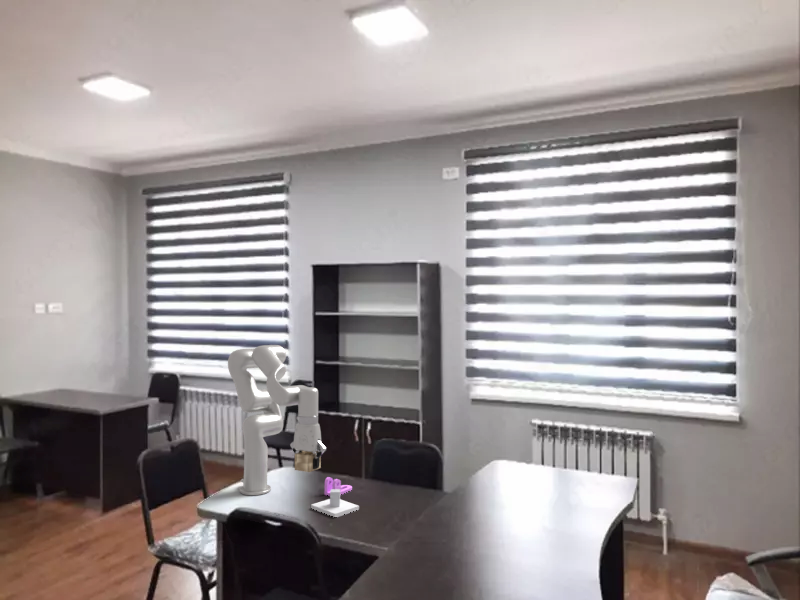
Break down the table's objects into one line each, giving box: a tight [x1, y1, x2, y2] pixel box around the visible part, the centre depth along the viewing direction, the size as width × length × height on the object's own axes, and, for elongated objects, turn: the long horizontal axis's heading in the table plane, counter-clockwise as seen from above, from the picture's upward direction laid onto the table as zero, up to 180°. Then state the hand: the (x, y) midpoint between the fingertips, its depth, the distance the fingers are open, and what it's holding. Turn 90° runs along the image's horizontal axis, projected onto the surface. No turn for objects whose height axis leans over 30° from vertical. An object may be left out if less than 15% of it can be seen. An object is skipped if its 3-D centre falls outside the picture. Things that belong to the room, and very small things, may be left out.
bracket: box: [323, 476, 353, 497], centre depth 236 cm, size 13×6×7 cm, turn 146°
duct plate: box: [310, 489, 360, 518], centre depth 216 cm, size 14×12×7 cm
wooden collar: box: [294, 451, 322, 473], centre depth 215 cm, size 7×7×6 cm
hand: (307, 466), depth 215 cm, fingers closed on wooden collar, 7 cm apart
